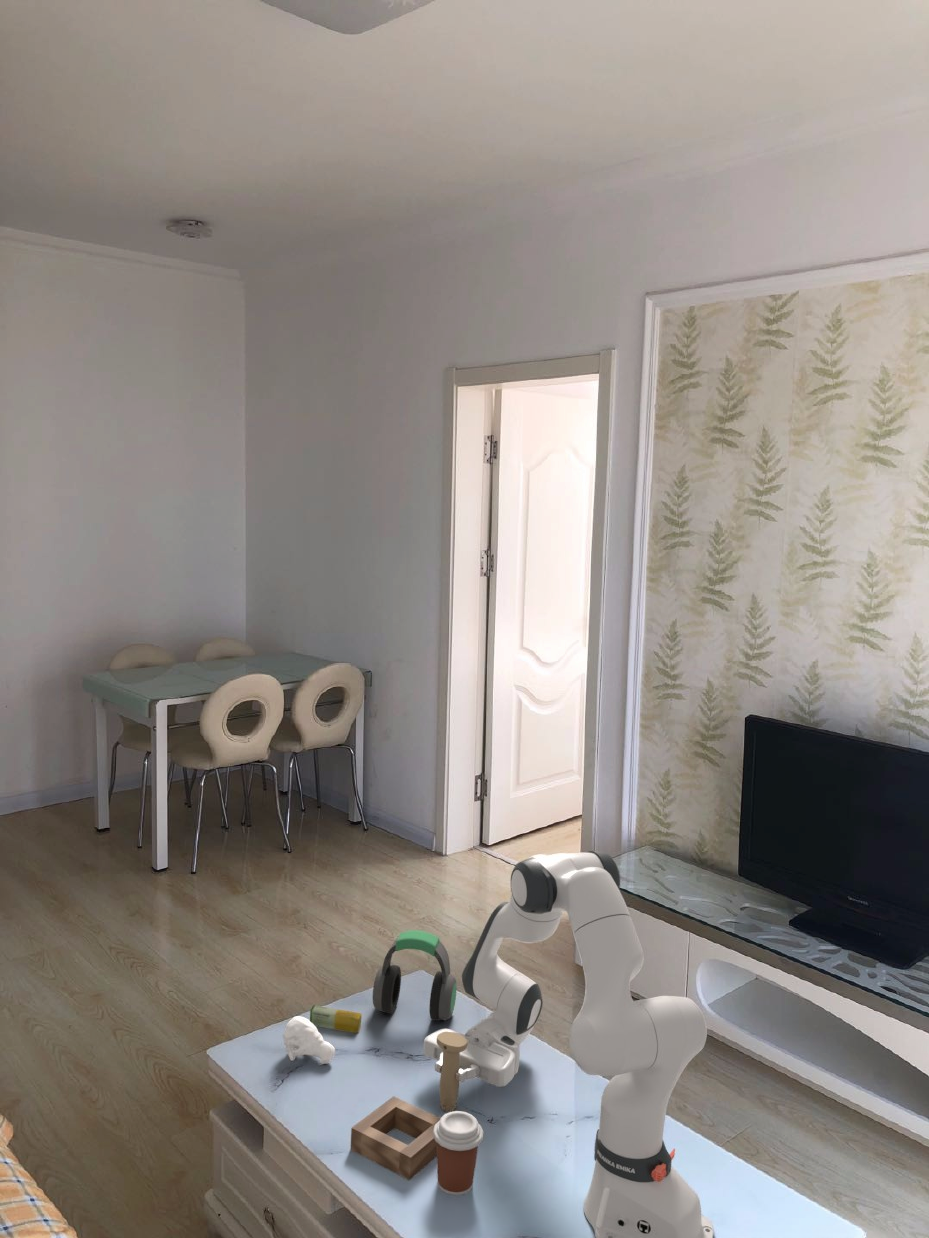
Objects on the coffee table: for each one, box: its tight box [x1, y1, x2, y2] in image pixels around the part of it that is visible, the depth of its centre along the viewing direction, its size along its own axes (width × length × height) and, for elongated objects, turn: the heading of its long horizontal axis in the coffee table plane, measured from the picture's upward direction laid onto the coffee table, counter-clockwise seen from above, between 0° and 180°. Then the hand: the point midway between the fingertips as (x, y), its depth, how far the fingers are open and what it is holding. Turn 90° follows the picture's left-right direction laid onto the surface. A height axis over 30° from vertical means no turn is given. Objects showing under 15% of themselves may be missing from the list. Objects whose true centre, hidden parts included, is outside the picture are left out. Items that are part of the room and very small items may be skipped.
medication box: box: [309, 1004, 362, 1034], centre depth 236 cm, size 12×3×4 cm, turn 78°
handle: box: [437, 1031, 468, 1112], centre depth 206 cm, size 5×6×15 cm
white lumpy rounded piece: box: [282, 1015, 336, 1066], centre depth 222 cm, size 6×8×12 cm
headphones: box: [372, 929, 458, 1021], centre depth 243 cm, size 19×11×20 cm, turn 80°
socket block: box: [349, 1095, 441, 1181], centre depth 194 cm, size 14×13×4 cm
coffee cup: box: [433, 1110, 484, 1197], centre depth 184 cm, size 9×9×12 cm
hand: (447, 1073), depth 205 cm, fingers open, 4 cm apart
